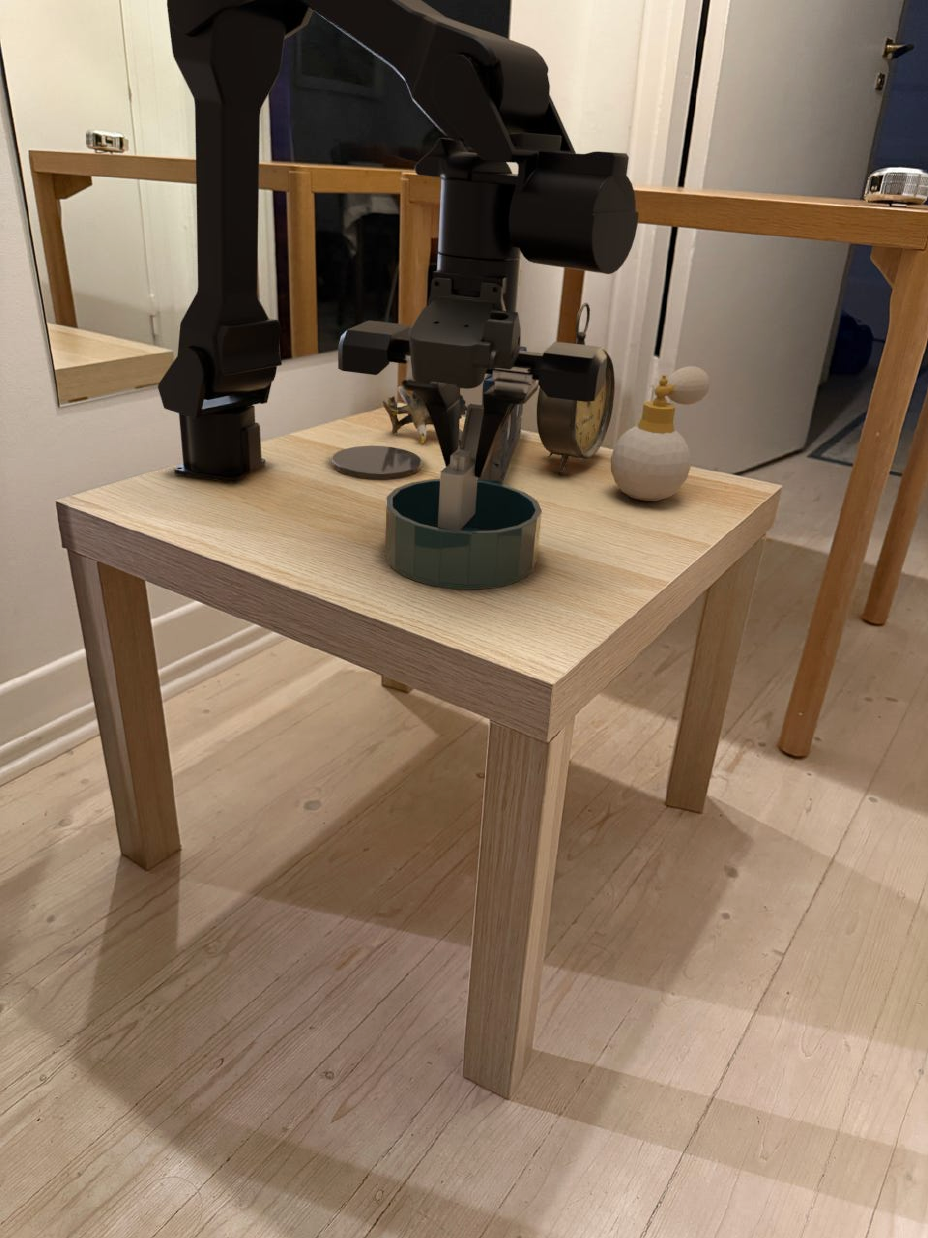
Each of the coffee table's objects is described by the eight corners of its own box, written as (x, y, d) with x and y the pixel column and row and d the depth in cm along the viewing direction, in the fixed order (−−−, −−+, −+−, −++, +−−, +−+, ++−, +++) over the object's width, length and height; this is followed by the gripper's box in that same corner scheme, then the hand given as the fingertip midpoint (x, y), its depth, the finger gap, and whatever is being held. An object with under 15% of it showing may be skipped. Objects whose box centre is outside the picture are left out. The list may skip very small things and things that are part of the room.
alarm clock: (569, 482, 90) (589, 312, 83) (521, 471, 93) (536, 304, 85) (609, 455, 99) (630, 300, 92) (564, 446, 101) (581, 293, 94)
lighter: (459, 530, 68) (465, 425, 64) (437, 526, 68) (442, 421, 64) (486, 501, 74) (494, 402, 70) (466, 497, 74) (472, 399, 70)
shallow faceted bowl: (362, 574, 68) (362, 518, 66) (412, 519, 79) (414, 470, 77) (517, 601, 66) (523, 544, 64) (547, 540, 77) (553, 490, 74)
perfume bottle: (596, 500, 86) (613, 372, 81) (623, 472, 94) (640, 354, 89) (674, 516, 84) (698, 385, 78) (695, 486, 92) (718, 366, 86)
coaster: (317, 471, 89) (317, 465, 89) (351, 446, 97) (351, 441, 96) (404, 484, 87) (405, 478, 87) (432, 457, 95) (432, 452, 94)
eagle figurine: (384, 438, 96) (468, 428, 95) (379, 373, 97) (463, 362, 96) (397, 457, 103) (475, 449, 103) (392, 397, 104) (470, 388, 103)
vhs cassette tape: (499, 432, 105) (506, 343, 100) (524, 435, 104) (532, 346, 100) (471, 482, 89) (477, 379, 84) (501, 486, 88) (509, 382, 84)
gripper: (304, 252, 57) (308, 488, 64) (599, 282, 53) (568, 529, 60) (367, 239, 67) (364, 446, 74) (620, 263, 63) (592, 479, 70)
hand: (465, 473), depth 69 cm, fingers closed on lighter, 2 cm apart
